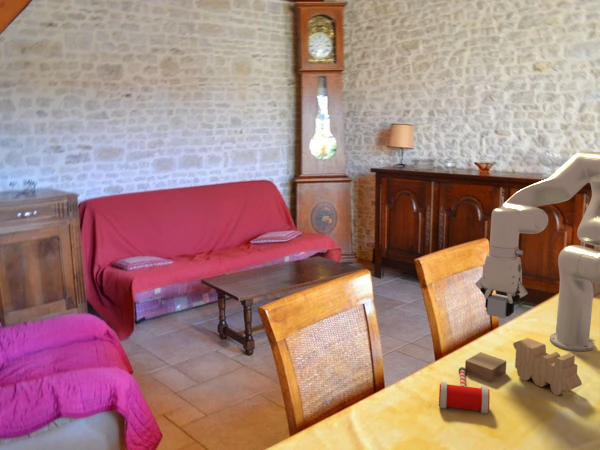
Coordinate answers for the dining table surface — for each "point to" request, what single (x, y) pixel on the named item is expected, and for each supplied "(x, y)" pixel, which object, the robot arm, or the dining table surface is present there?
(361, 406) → the dining table surface
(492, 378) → the walnut block
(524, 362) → the toy train
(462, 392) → the toy hammer
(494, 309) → the slate brick
